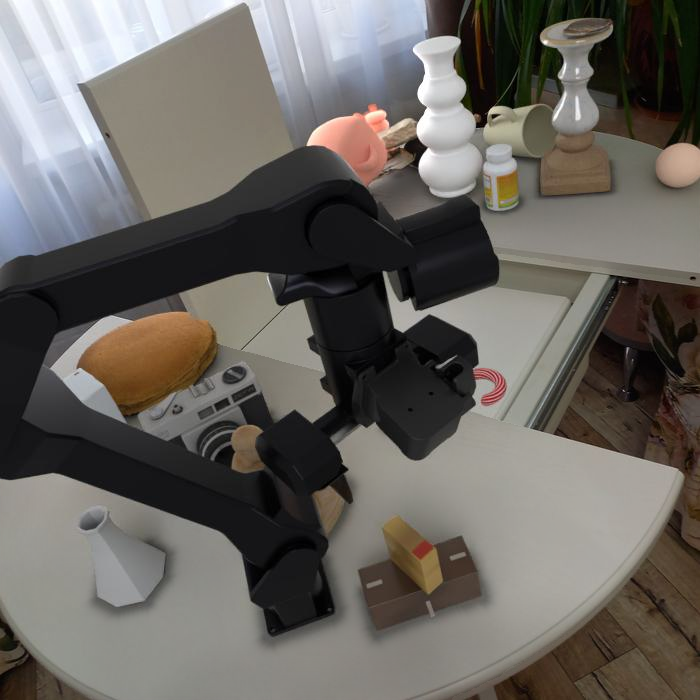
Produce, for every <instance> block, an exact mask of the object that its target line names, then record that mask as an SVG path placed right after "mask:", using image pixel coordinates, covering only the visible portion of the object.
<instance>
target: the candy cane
mask: <svg viewBox="0 0 700 700" xmlns="http://www.w3.org/2000/svg"><path fill="white" fill-rule="evenodd" d="M473 372H474V376H475V381H478V380H486V381H489V382H491V383H493V384H494V388H493V389H492V390H491V391H490V392H488V393H485V394H483V395H482V396H481V397H480V403H481V405H482V406H484V407H489V406H493V405H494V404H497V403H498V402H499V401H501V400H502V399H503V398H504V397H505V395H506V393H507V389H508V384H507V381H506V378H505V377H504V376H503V374H501V373H500V372H499V371H497V370H496V369H493V368H486V367H477V368H476V367H475V368H473Z"/></svg>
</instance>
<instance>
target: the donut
mask: <svg viewBox="0 0 700 700" xmlns="http://www.w3.org/2000/svg"><path fill="white" fill-rule="evenodd" d="M403 145H404V146H403V147H402V148H403V149H404V150H406V151H407V152H409V153H410V154H412V155H413V157H414V155H415V153H416V155H415V159H414V161H413V162H412V163H411V164H409V165H408V166H409V167H412V168H415V169H418V170H419V162H420V159H421V157H422V155H423V154H424V153H425V151H426V150H427V149H428V147H427V146H425V145H424V144H423V143H422V142H421V141H420V140H419V138H418V137H417V138H415V139H414V140H411V141H408V142H407V143H405V144H403Z"/></svg>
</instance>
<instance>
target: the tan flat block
mask: <svg viewBox="0 0 700 700" xmlns="http://www.w3.org/2000/svg"><path fill="white" fill-rule="evenodd" d="M381 530H382V531H381V532H382V535H383V538H384V542H385V545H386V548H387V552H388V555H389V559H391V560H392V561H393V562H394V563H395V564H396V565H397V566H398V567H399V568H400V569H401V570H403V571H404V572H405V573H406V574H407V575H408V576H409V577H410V578H411V579H412V580H413V581H414V582H415V583H416V584H417V585H419V586H420V587H421V588H422V589H423V590H424V591H425V592H426V593H427V594H428V595H429V594H430V593H431V592H432V591H433V590H434V589H435V588H436V587H438V586H439V585H440V584H441V583H442V582H443V578H442V574H441V569H440V564H439V559H438V554H437V549H436V548H435V547H434V546H433V545H434V544H432V543H431V542H429V541H428V540H427V539H426V538H424V536H422V535H421V534H420V533H419V532H418V531H416V530H415V529H414V528H413V527H412V526H411V525H409V524H408V523H407V522H406V521H405V520H404V519H402V517H400V516H399V515H398V514H395V515H394V516H393V517H391V518H390V519H389V520H388V521H387V522H385V523H384V524H383V525H382V526H381Z"/></svg>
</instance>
